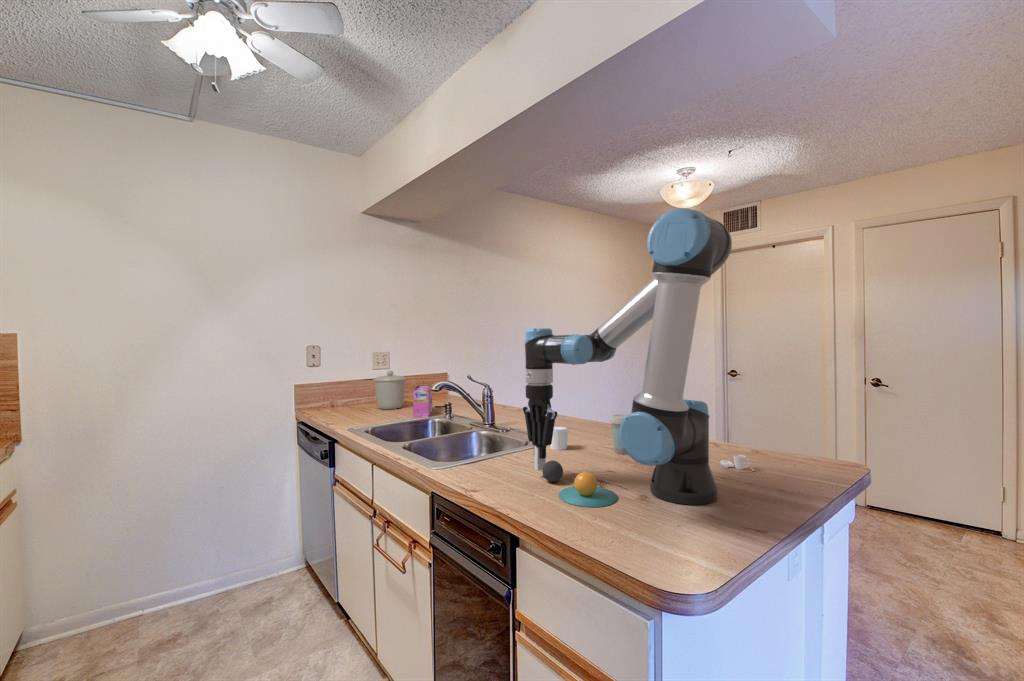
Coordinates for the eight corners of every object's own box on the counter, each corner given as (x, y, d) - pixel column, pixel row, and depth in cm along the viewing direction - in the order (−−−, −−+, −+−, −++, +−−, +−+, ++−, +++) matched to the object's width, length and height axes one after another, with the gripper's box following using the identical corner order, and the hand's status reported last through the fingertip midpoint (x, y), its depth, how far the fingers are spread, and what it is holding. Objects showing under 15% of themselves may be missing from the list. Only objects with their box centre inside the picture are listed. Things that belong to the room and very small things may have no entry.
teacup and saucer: (716, 467, 129) (715, 453, 129) (737, 464, 132) (737, 450, 132) (739, 475, 121) (739, 461, 121) (762, 472, 124) (761, 458, 124)
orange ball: (583, 473, 111) (591, 495, 108) (566, 477, 108) (574, 500, 105) (596, 467, 107) (605, 490, 104) (579, 471, 104) (588, 494, 101)
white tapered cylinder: (567, 451, 148) (567, 430, 148) (547, 450, 149) (547, 429, 149) (569, 446, 155) (569, 426, 155) (549, 445, 156) (549, 425, 156)
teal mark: (630, 498, 103) (630, 497, 103) (586, 512, 96) (586, 511, 96) (588, 482, 115) (588, 482, 115) (546, 493, 107) (546, 492, 107)
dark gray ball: (552, 461, 121) (557, 481, 119) (536, 464, 118) (541, 485, 116) (563, 456, 117) (569, 477, 115) (547, 460, 114) (553, 481, 112)
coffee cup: (633, 457, 140) (632, 419, 140) (607, 453, 144) (606, 417, 144) (640, 451, 147) (640, 415, 147) (615, 447, 151) (615, 413, 151)
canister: (388, 411, 232) (388, 372, 232) (366, 409, 242) (366, 371, 242) (413, 407, 247) (413, 370, 247) (391, 404, 257) (391, 369, 257)
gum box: (418, 410, 238) (417, 385, 238) (432, 409, 239) (432, 384, 239) (413, 417, 215) (412, 390, 215) (429, 417, 216) (429, 389, 215)
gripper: (514, 383, 124) (515, 465, 125) (542, 387, 114) (543, 477, 114) (536, 381, 129) (536, 461, 129) (564, 385, 118) (565, 472, 118)
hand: (540, 469), depth 121 cm, fingers closed
